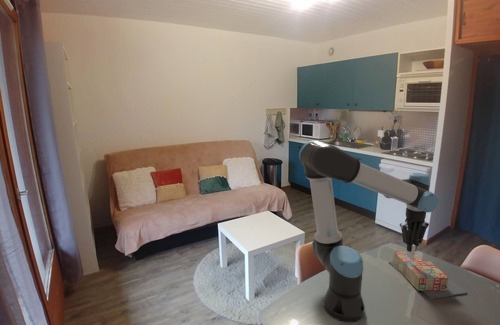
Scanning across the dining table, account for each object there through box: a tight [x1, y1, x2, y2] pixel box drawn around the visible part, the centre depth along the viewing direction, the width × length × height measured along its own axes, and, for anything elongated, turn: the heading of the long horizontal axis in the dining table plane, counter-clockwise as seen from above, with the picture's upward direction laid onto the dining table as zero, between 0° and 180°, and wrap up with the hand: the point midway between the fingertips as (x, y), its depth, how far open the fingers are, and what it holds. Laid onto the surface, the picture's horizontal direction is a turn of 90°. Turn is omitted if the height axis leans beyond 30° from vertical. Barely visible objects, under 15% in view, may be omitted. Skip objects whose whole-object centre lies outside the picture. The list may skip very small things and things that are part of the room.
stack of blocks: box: [392, 250, 450, 292], centre depth 124 cm, size 21×6×12 cm
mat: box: [388, 260, 468, 300], centre depth 124 cm, size 17×26×1 cm, turn 9°
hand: (410, 257), depth 123 cm, fingers closed
